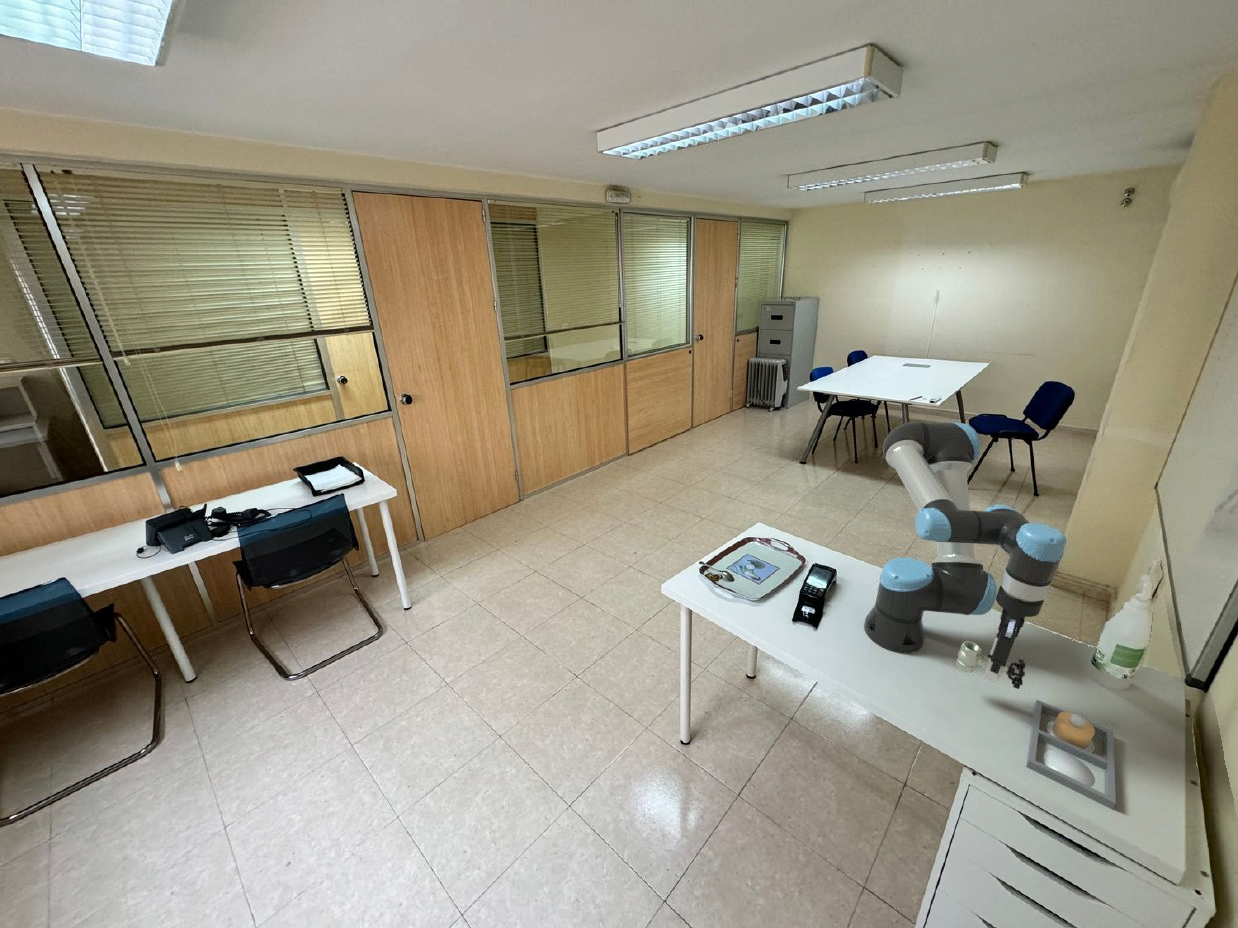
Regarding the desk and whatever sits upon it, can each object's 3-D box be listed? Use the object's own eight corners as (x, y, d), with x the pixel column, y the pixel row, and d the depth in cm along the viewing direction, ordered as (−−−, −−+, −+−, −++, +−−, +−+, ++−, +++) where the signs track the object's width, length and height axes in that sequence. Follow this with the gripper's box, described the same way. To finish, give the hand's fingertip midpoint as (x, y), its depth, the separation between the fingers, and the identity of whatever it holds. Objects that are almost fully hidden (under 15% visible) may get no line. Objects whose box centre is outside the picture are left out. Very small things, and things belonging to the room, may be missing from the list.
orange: (1051, 737, 106) (1059, 719, 104) (1053, 719, 110) (1060, 701, 108) (1088, 754, 102) (1097, 736, 100) (1088, 735, 106) (1097, 717, 104)
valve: (954, 672, 114) (1017, 695, 107) (960, 651, 111) (1026, 673, 105) (955, 654, 119) (1016, 675, 112) (961, 634, 116) (1024, 654, 110)
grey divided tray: (1025, 769, 100) (1028, 760, 100) (1033, 707, 114) (1036, 699, 113) (1110, 811, 92) (1115, 803, 91) (1109, 739, 106) (1113, 731, 105)
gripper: (1040, 623, 94) (1007, 706, 103) (1048, 577, 106) (1017, 654, 116) (993, 607, 99) (966, 687, 108) (1006, 564, 111) (980, 640, 121)
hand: (992, 670), depth 112 cm, fingers closed on valve, 6 cm apart
